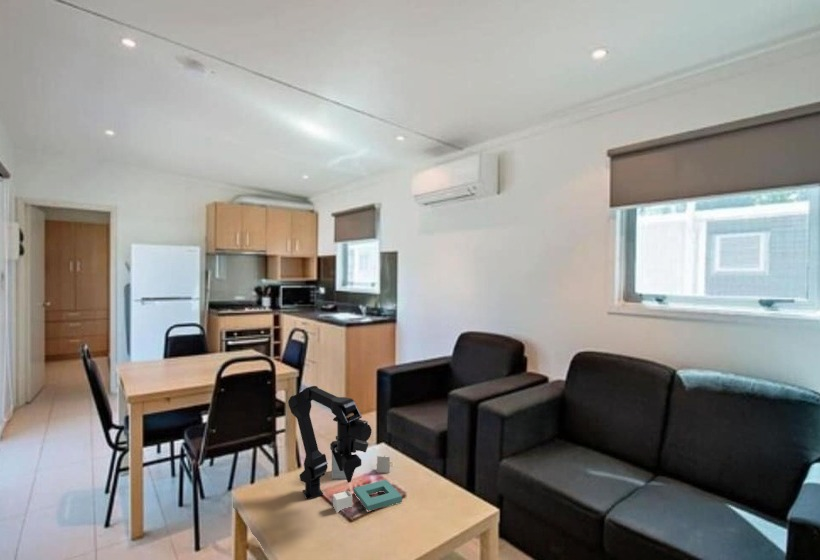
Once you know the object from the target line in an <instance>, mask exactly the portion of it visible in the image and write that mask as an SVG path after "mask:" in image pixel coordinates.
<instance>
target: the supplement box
mask: <svg viewBox="0 0 820 560" xmlns="http://www.w3.org/2000/svg"><path fill="white" fill-rule="evenodd" d="M331 479H335V480H337V479H341V480H347V479H346V476H345V474H344V471H340V470H339V467H338V465H337V463H336V460H335V458H334V456H333V454H332V453H331Z"/></svg>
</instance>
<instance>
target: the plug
mask: <svg viewBox="0 0 820 560" xmlns="http://www.w3.org/2000/svg"><path fill="white" fill-rule="evenodd" d="M333 507H334V508H333ZM348 507H352V508H353V495H352V493H351V492H350V490H345V491H341V492H338V493H334V494H332V508H333V510H334V509H335V510H334V512H335V511H336V512H335V514H339V513H338V512H339V511H340V510H342V509H344V508H348Z"/></svg>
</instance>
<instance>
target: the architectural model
mask: <svg viewBox="0 0 820 560" xmlns="http://www.w3.org/2000/svg"><path fill="white" fill-rule="evenodd" d="M376 458H377V459H376V460H377V461H376V472H377V473H382V474H384V473H385V474H390V472H391V468H390V467H393V466H394V464H395V462H394V461H393V462H392V461H390V460H391V457H390V456H387V455H386V454H385V455H384V456H383V455H382V456H379V455H378V456H376Z"/></svg>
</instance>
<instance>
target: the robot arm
mask: <svg viewBox="0 0 820 560" xmlns="http://www.w3.org/2000/svg"><path fill="white" fill-rule="evenodd" d="M312 401H314V402H316V403H318V404H320V405H322V406H323V407H324V406H325V407H326V408H328V409H329V410H331V414H333V415H334V416H335V417H333V419H332V420H333V421H334V422H337V423H336V425H337V427H336V429H337V432H336V436H335V440H332V441H331V443H330V445H329V448H330V451H331V455H332V454H333V456H334V458H335V460H336V463H337V465H338V467H339V470H340V471H344V474H345V476H346V479H345V480H346V481H347V483H351V482H352V479H353V477H354V473H355V470H356V469H357V468H359V467H361V466H362V459H361V457H359V455H357V454H356V453H357V452H363V453H367V450H368V448H369V447H368V446H369V442H367V441H368V440H369V439H370V438H371V435H372V427H371V425H370V424H368V423H369V422H368V420H364V419H362V418H363V417H362V414H361V412H360V411H359V409H358V407H357V404H356V403H355V400H354V399H353V398H350V397H346V396H345V397H344V396H342V397H341V396H336V395H334V394H332V393H330V392H328V391H325V390H324V389H322V388H319V387H318V386H317V385H312V386H308V387H306V388H304V389H303V390H302V391H300V392H299V393H296V394H293V395H291V396H290V397H289V399H288V402H287V404H288V407H289V410H290V413H291V414H292V415H293V416H294V417H295V418H296V420H297V424H298V428H299V433H300V436H301V440H302V441H301V442H302V445H303V449H304V453H305V457H304V462H303V467H304V470H303V471H302V472H301V473H300V474H299V481H300V482H303V483H305V485H304V486H305V487H304V489H303V490H302V493H303V495H304V497H305V499H306V500H309V499H313V498H317V497H321V496H323V495H324V493H323V491H322V490H321V478H322V477H323V476H326V473H327V470H328V466H329V465H328V464H329V462H328V461H327V460H328V459H327V456H326V454H325V453H322V452H321V451H319V447H318V443H317V438H316V435H315V431H314V428H313V427H314V426H313V423H312V419H311V416H310V415H311V409H312ZM353 453H354V454H353ZM322 494H323V495H322Z"/></svg>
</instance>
